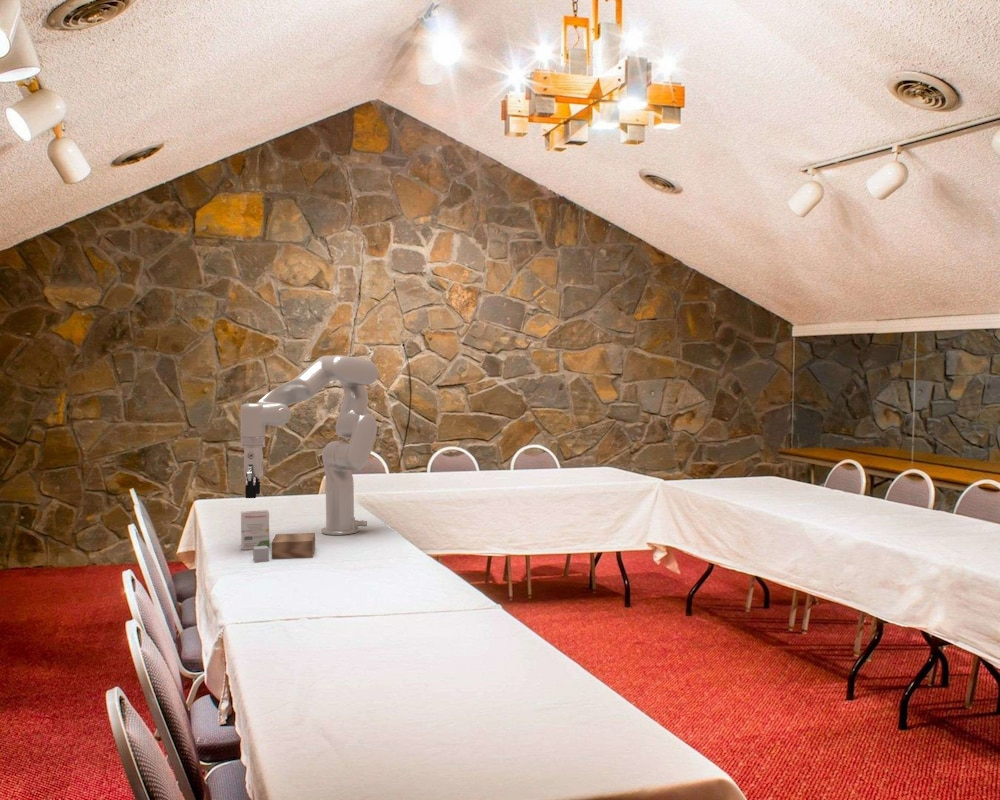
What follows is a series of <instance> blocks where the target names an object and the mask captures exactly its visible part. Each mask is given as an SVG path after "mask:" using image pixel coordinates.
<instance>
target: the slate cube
mask: <svg viewBox="0 0 1000 800" xmlns="http://www.w3.org/2000/svg"><path fill="white" fill-rule="evenodd" d="M252 554H253V559H252V561H254V563H264V562H269V561H270V547H269V548H268V547H267V546H257V547H253V549H252Z"/></svg>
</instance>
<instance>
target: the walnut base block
mask: <svg viewBox="0 0 1000 800" xmlns="http://www.w3.org/2000/svg"><path fill="white" fill-rule="evenodd" d="M315 551H316V533H315V532H304V533H302V532H299V533H276V534H275V535H274V537H273V539H272V541H271V559H272V560H276V559H279V560H280V559H281V560H282V559H300V558H303V559H305V558H313V557H314V553H315Z"/></svg>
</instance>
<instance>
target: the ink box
mask: <svg viewBox="0 0 1000 800" xmlns="http://www.w3.org/2000/svg"><path fill="white" fill-rule="evenodd" d="M240 533H241V534H240V536H241V537H240V542H241V551H247V550H253V547H257V546H267V547H268V548H269V549H270V512H269V510H267V509H265V510H263V509H262V510H247V511H245V510H244V511H240Z"/></svg>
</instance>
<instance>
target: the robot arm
mask: <svg viewBox="0 0 1000 800" xmlns="http://www.w3.org/2000/svg"><path fill="white" fill-rule="evenodd" d="M378 377H379V369H378V367H377V365H376V364H375V363H374V362H372V361H371V360H368V359H362V358H356V357H355V358H354V357H350V356H345V355H322V356H320V357H318V358H317V359H316V360H314V361H313V362H312V363H311V364H310V365H309V366H307V367H306V368H305V369H304V370H303V371H302V372H300V373H299V374H298V375H297V376H295V377H294V378H293V379H291V380H289V381H287V382H285V383H283V384H281V385H279V386H277V387H275V388H274V389H271V390H270V391H269V392H268V393H267V394H265V395H264V396H263V397H262V398H260V399H259V400H258V401H257V402H255V403H254V402H253V403H252V402H251V403H243V404H242V405H241V407H240V448H243V451H244V452H243V475H244V478H245V488H244V489H245V490H244V491H245V492H244V494H245V496H244V497H245V498H246V499H256V498H257V495H260V493H261V482H260V479H261V478H262V477H263V476H264V454H263V453H264V452H263V448H265V447H266V426H277V427H280V426H283V425H286V424H288V422H289V421H290V419H291V416H292V412H291V409H290V407H289V406H290V405H291V406H292V405H293V404H297V403H302V402H305V401H307V400H309V399H312V398H313V397H314V396H315V395H317V394H318V393H319V392H320V391H321V390H322V389H323V388H325V387H326V386H327V385H328V384H329V383H331V382H332V381H339V383H340V385H341V386H342V389H343V393H344V394H343V395H344V396H343V399H342V400H343V402H342V404H341V408H340V411H339V414H338V416H337V419H336V424H335V432H336V434H337V435H338V436H339V437H340V438H343V439H347V440H349V441H346V440H345V441H344V440H343V441H342V440H333V441H330V442H329V443H327V444H326V445H325V446H324V447H323V450H322V455H321V456H322V462H323V467H324V476H325V521H326V523H325V524H326V525H325V527H323V528H322V529H321V533H322V534H325V535H329V536H345V535H352V534H355V533H359V532H360V530H359V527H367V526H368V520H358V519H356V517H355V508H354V507H355V499H354V497H355V496H354V493H355V491H354V486H355V485H354V483H355V482H354V477H353V473H352V471H360V470H362V469H363V468H364V467H366V465H367V464H368V462H369V459H370V456H371V454H372V449H373V447H374V446H373V445H374V443H375V439H376V437H377V432H378V424H377V420H376V418H375V416H373V415H372V414H370V413H368V412H367V409H368V404H369V394H368V391H367V389H366V386H371V385H372V384H374V383H376V381H377V379H378Z"/></svg>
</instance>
